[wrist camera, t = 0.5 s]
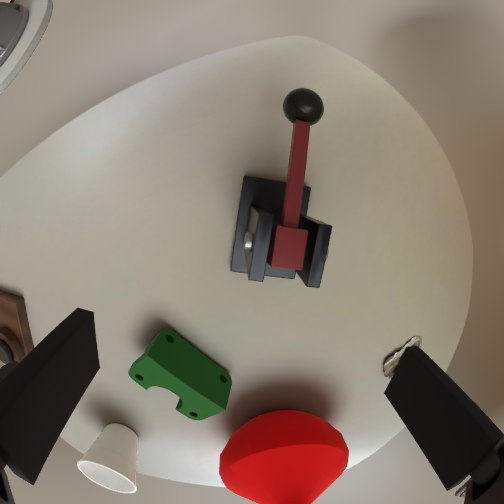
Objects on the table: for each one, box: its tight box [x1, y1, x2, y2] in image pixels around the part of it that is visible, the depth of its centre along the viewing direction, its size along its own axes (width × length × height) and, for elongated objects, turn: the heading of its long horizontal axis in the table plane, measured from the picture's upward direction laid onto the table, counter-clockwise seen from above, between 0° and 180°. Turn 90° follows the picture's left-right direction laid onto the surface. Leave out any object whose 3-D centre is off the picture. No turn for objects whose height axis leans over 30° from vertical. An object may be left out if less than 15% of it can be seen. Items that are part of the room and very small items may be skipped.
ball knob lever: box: [267, 88, 324, 271], centre depth 19 cm, size 14×3×3 cm, turn 171°
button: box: [0, 339, 14, 364], centre depth 27 cm, size 4×4×2 cm
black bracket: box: [230, 176, 332, 288], centre depth 24 cm, size 10×7×12 cm
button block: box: [0, 290, 34, 363], centre depth 29 cm, size 13×8×4 cm, turn 171°
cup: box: [77, 423, 138, 493], centre depth 30 cm, size 10×10×11 cm
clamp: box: [128, 328, 232, 420], centre depth 30 cm, size 12×6×9 cm, turn 39°
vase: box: [219, 410, 349, 504], centre depth 27 cm, size 18×18×19 cm
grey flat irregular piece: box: [384, 336, 422, 378], centre depth 34 cm, size 7×8×2 cm
